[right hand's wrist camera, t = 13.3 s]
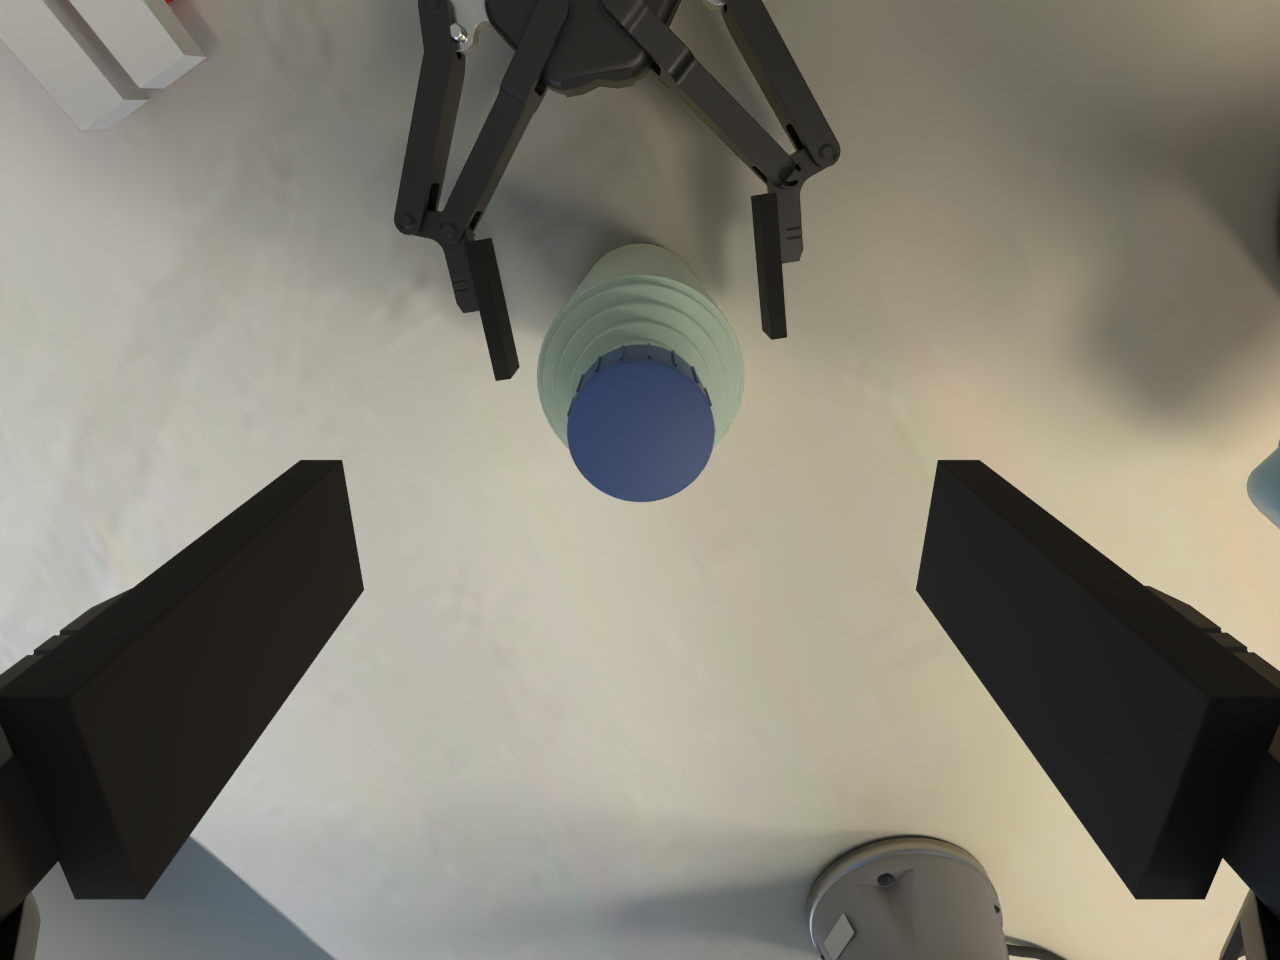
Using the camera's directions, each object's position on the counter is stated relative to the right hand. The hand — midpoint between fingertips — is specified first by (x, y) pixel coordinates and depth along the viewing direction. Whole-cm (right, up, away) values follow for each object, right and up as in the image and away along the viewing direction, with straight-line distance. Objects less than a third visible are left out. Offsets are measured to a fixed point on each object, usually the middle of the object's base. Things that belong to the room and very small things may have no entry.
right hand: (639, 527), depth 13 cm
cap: (0, +2, +5) cm, 6 cm away
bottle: (0, +11, +27) cm, 29 cm away
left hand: (0, +7, +22) cm, 23 cm away
